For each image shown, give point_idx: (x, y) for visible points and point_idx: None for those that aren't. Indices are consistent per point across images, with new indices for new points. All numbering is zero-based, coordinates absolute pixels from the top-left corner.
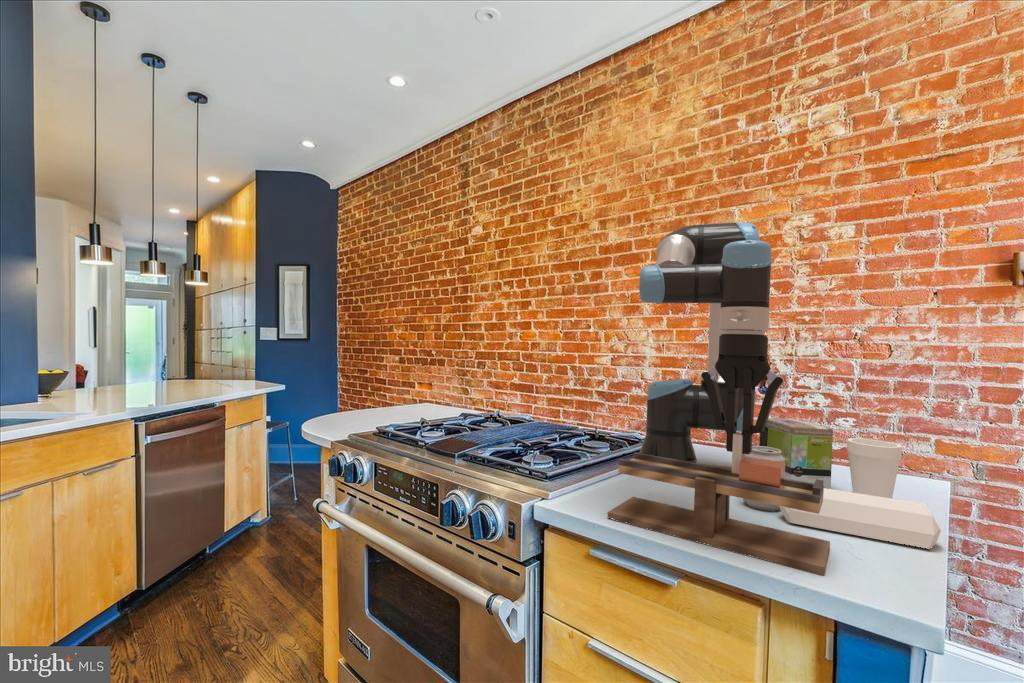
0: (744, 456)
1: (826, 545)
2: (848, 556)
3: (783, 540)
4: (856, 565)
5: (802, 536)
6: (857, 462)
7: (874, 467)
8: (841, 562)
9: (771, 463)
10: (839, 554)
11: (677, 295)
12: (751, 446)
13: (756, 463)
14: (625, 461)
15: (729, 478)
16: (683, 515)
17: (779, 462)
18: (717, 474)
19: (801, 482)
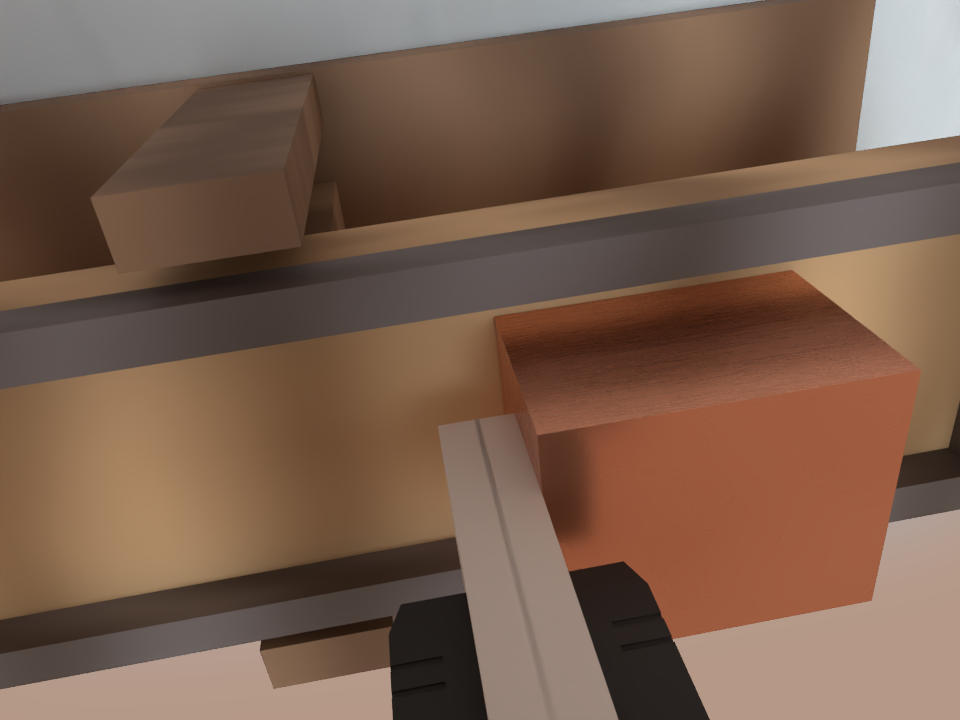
0: (545, 508)
1: (853, 83)
2: (927, 30)
3: None
4: (941, 129)
5: (741, 38)
6: None
7: None
8: (884, 146)
9: (799, 508)
10: (889, 38)
11: None
12: (664, 631)
13: (685, 605)
14: None
15: (387, 388)
16: (98, 258)
17: (867, 409)
18: (257, 355)
19: (946, 228)
